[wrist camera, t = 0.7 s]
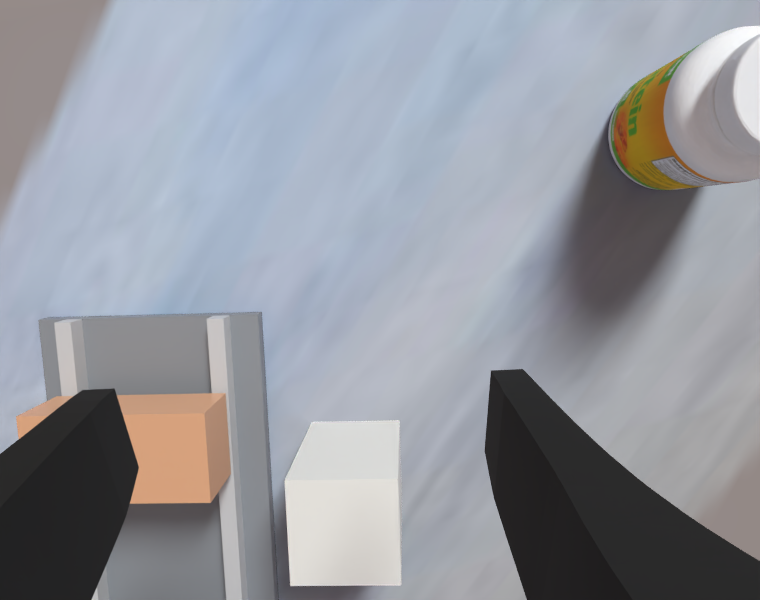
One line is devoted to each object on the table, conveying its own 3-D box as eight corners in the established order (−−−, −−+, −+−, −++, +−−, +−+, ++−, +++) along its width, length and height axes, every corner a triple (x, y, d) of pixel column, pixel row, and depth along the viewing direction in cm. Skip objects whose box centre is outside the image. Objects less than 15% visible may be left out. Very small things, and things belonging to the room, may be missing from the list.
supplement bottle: (639, 53, 28) (764, -37, 18) (744, 102, 28) (925, 38, 18) (585, 162, 28) (677, 132, 19) (687, 209, 28) (832, 203, 19)
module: (402, 503, 31) (401, 585, 24) (315, 504, 31) (290, 585, 24) (399, 420, 30) (398, 478, 23) (311, 421, 31) (284, 480, 24)
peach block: (231, 473, 29) (210, 502, 26) (64, 475, 29) (26, 504, 26) (225, 393, 28) (204, 413, 25) (56, 396, 29) (16, 416, 26)
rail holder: (282, 675, 32) (254, 781, 26) (85, 674, 33) (12, 778, 27) (261, 312, 30) (224, 335, 24) (48, 317, 30) (-43, 341, 24)
